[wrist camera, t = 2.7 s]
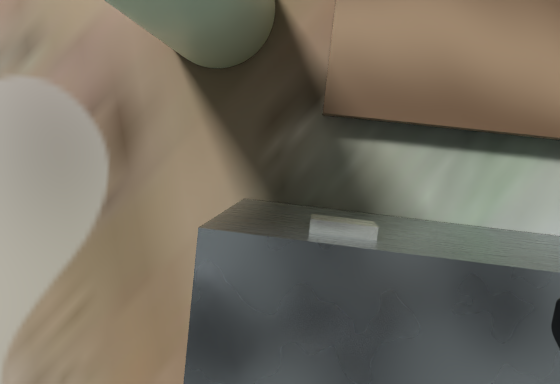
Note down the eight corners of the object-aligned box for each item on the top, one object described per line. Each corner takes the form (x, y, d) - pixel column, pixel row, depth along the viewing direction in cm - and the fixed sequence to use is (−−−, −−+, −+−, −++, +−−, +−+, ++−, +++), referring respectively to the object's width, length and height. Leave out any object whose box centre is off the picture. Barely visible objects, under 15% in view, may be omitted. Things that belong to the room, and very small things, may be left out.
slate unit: (681, 445, 20) (922, 639, 12) (225, 378, 21) (171, 513, 13) (722, 246, 19) (1010, 312, 11) (245, 189, 20) (199, 213, 13)
